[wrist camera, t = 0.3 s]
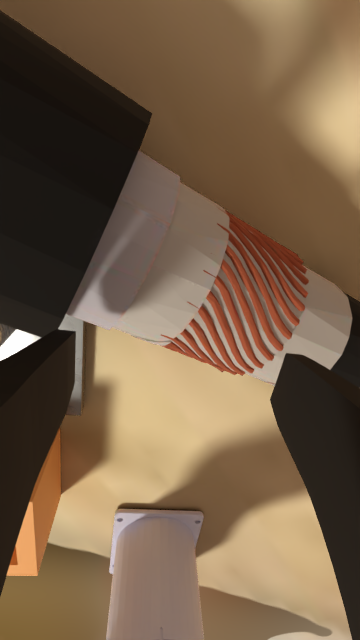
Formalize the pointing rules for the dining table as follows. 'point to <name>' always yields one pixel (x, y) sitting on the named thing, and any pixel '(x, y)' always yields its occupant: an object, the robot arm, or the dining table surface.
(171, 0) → the dining table surface
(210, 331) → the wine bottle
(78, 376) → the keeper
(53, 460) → the orange hollow block
